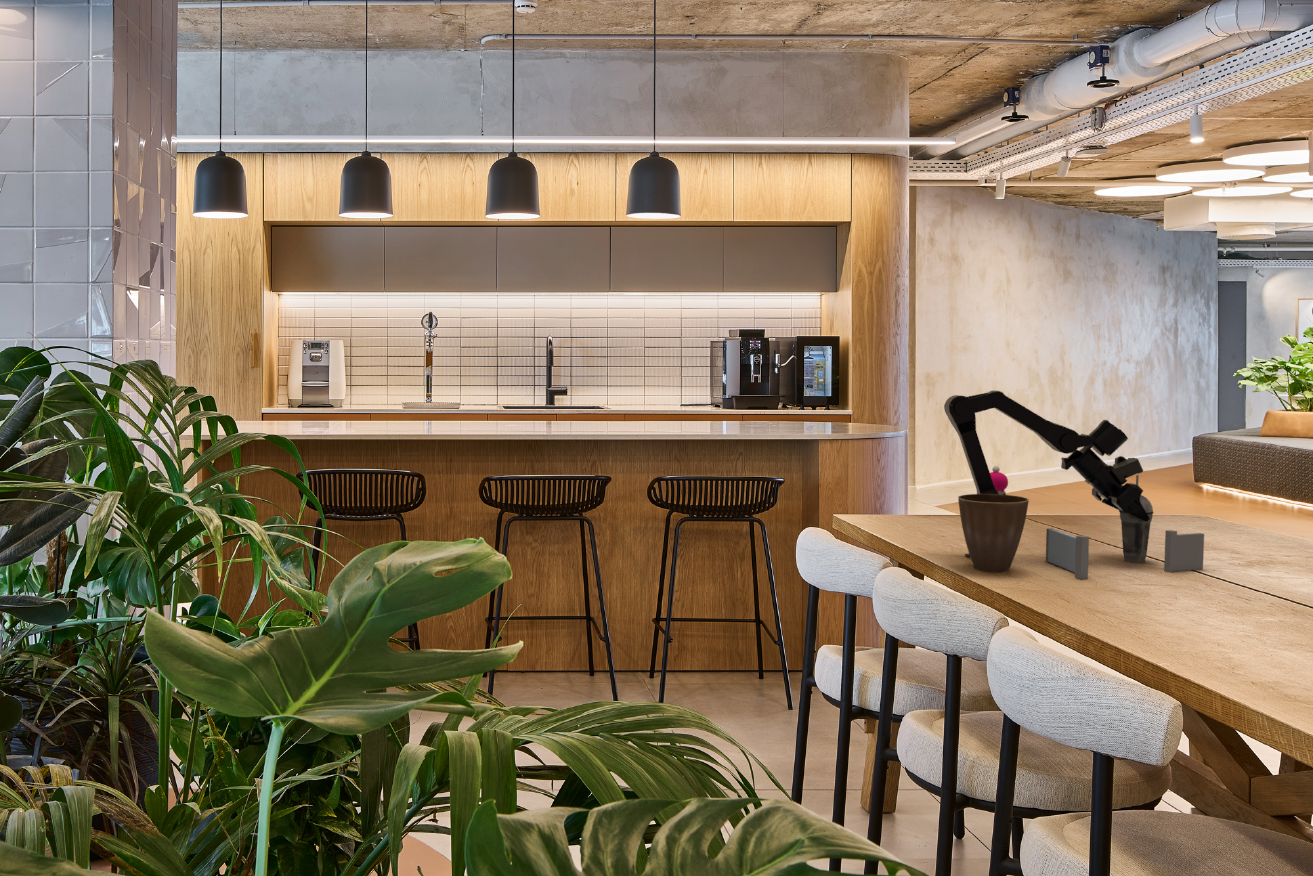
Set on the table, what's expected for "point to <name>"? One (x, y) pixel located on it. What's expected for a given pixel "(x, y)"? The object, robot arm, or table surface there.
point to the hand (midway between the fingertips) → (1142, 518)
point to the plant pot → (992, 528)
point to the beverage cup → (1136, 532)
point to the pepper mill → (999, 479)
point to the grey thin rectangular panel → (1061, 549)
